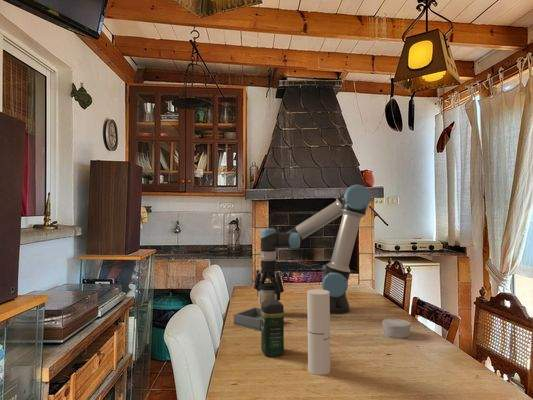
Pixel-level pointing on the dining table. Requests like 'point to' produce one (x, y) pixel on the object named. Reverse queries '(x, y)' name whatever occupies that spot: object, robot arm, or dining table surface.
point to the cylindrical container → (318, 331)
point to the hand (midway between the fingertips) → (268, 305)
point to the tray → (249, 318)
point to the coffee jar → (272, 327)
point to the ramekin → (396, 328)
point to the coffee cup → (267, 291)
